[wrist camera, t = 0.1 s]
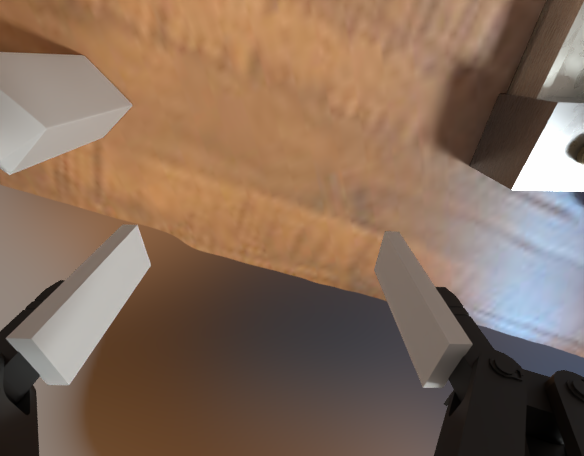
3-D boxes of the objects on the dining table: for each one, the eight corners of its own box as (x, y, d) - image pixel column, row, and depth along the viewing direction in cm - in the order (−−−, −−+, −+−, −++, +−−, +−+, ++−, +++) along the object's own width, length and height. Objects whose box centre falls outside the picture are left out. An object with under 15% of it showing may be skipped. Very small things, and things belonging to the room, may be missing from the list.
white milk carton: (84, 54, 32) (-121, 45, 16) (134, 105, 35) (4, 140, 19) (54, 93, 34) (-152, 119, 18) (104, 137, 37) (-35, 193, 21)
